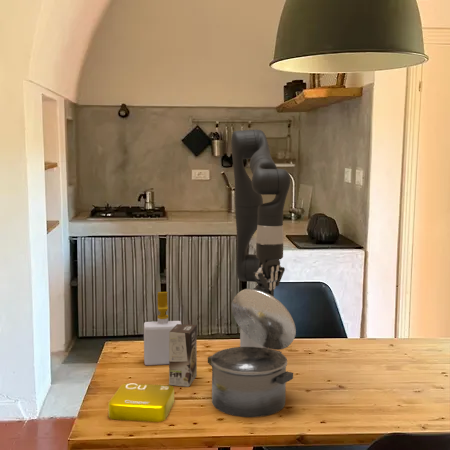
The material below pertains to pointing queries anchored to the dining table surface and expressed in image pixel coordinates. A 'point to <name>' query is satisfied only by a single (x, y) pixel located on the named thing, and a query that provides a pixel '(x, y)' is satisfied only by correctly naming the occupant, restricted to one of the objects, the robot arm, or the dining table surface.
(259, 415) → the cooker pot
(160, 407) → the element tile
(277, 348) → the cooker lid
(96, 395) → the dining table surface
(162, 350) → the soap bottle
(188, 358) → the coffee box
